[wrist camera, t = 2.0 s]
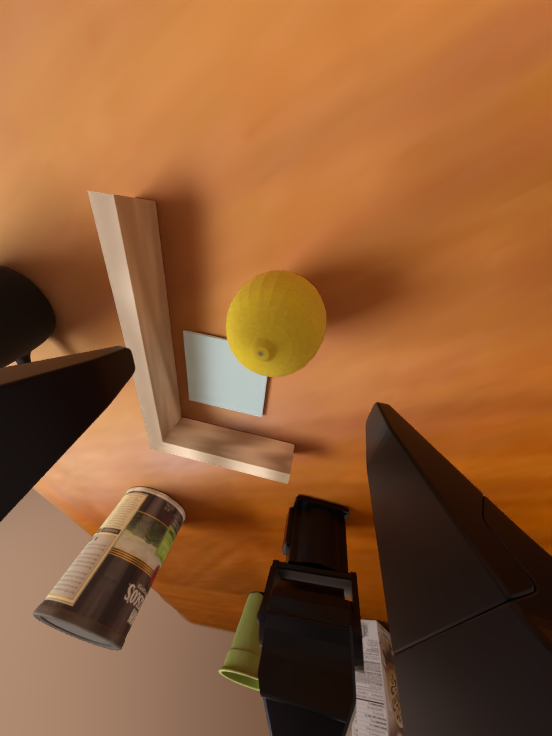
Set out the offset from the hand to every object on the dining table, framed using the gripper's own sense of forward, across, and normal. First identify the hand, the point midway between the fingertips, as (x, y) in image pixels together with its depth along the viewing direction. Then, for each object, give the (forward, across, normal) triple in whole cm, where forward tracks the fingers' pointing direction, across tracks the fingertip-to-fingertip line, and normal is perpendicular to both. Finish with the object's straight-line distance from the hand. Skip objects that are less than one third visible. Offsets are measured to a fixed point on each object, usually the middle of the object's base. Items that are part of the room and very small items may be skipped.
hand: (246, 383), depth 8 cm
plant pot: (+10, -5, +64) cm, 65 cm away
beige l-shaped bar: (+10, +4, +5) cm, 12 cm away
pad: (+10, +4, +7) cm, 13 cm away
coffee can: (+10, +16, +36) cm, 41 cm away
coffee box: (+10, -27, +62) cm, 68 cm away
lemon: (+10, 0, 0) cm, 10 cm away
